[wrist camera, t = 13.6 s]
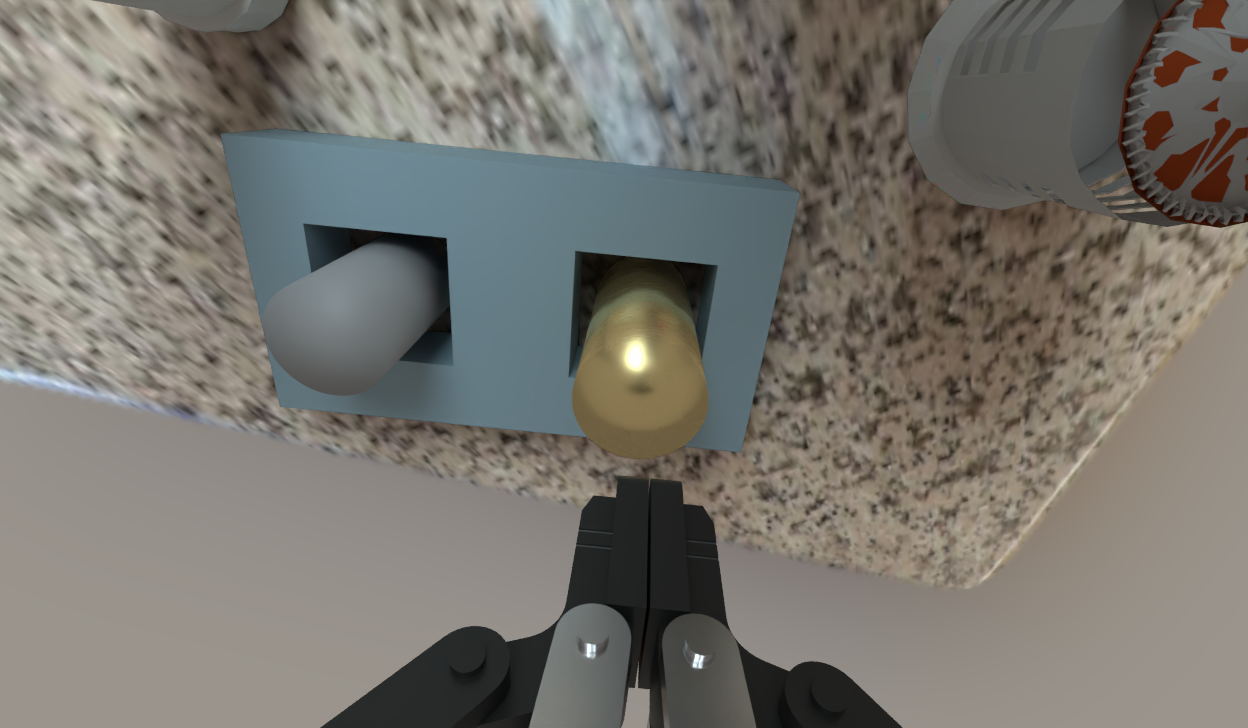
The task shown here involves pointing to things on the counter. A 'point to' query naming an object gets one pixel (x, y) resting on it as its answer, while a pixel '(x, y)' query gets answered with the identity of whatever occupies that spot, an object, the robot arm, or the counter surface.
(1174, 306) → the counter surface
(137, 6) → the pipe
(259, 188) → the jig
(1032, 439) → the counter surface
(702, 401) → the gold cylinder
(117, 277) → the counter surface
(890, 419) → the counter surface
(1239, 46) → the french press
